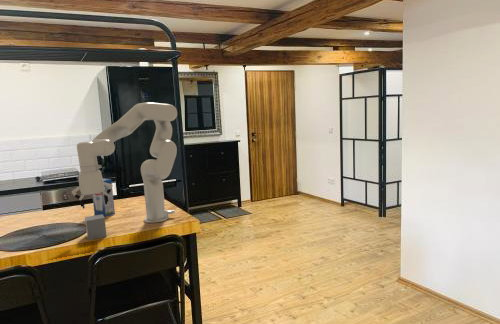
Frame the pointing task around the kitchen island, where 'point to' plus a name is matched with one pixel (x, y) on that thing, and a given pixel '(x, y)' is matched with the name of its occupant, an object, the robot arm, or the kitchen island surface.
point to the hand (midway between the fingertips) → (95, 205)
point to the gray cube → (95, 226)
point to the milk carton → (100, 202)
